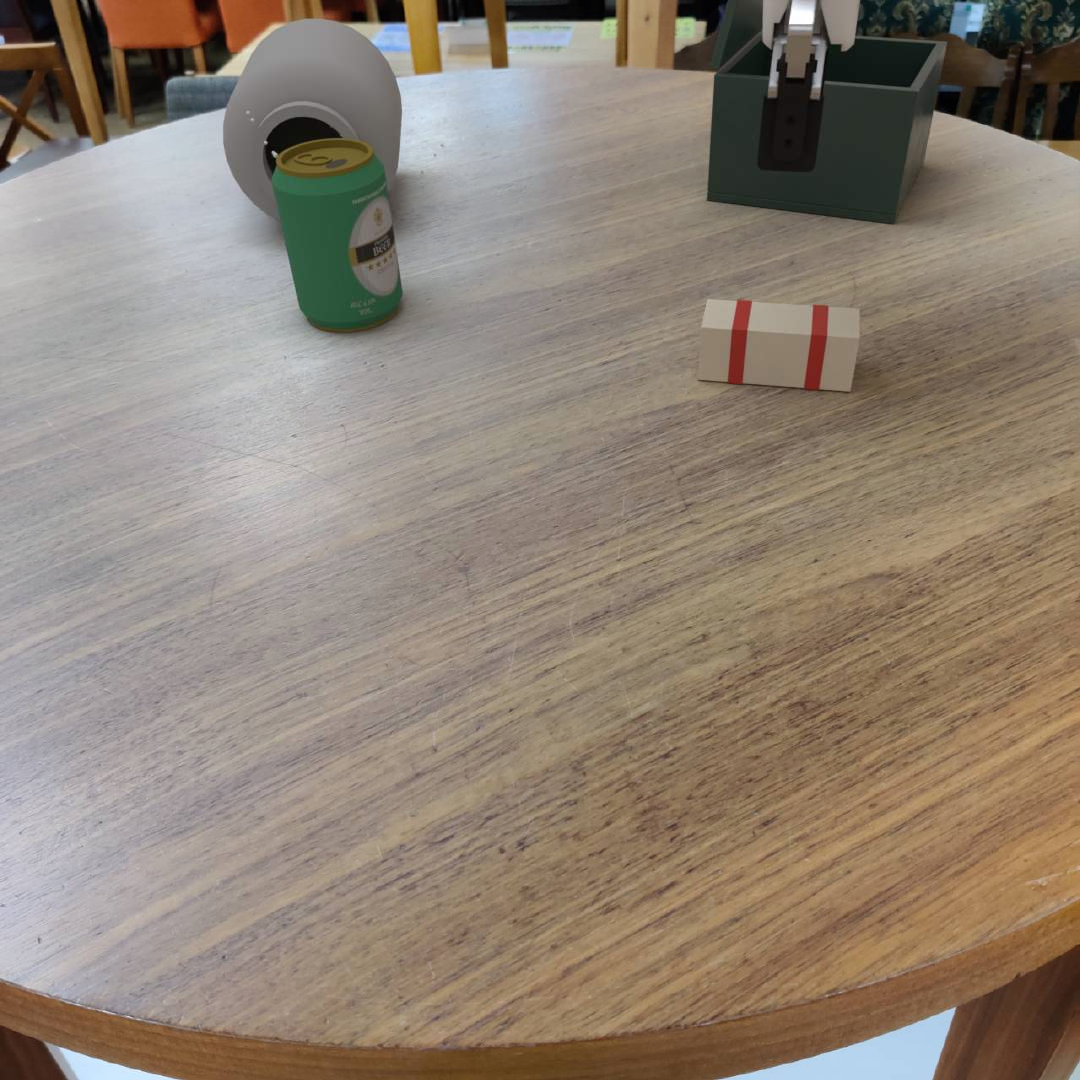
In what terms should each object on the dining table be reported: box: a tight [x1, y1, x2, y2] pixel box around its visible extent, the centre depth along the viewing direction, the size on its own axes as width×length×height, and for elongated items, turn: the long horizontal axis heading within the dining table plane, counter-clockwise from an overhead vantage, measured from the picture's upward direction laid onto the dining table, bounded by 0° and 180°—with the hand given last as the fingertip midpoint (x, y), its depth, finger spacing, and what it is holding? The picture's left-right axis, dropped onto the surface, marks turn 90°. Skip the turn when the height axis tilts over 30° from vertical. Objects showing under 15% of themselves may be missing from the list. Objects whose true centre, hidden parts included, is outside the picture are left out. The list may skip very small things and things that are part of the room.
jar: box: [222, 17, 445, 222], centre depth 88 cm, size 19×15×25 cm
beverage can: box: [272, 138, 404, 333], centre depth 75 cm, size 8×8×12 cm
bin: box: [706, 29, 948, 225], centre depth 91 cm, size 17×15×11 cm
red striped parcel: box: [697, 298, 861, 393], centre depth 68 cm, size 10×4×4 cm, turn 77°
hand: (790, 139), depth 61 cm, fingers open, 9 cm apart
